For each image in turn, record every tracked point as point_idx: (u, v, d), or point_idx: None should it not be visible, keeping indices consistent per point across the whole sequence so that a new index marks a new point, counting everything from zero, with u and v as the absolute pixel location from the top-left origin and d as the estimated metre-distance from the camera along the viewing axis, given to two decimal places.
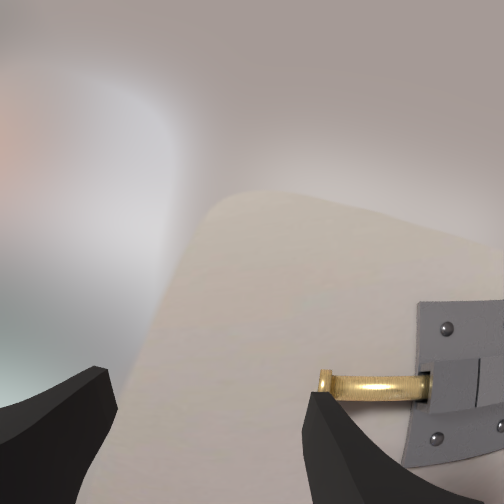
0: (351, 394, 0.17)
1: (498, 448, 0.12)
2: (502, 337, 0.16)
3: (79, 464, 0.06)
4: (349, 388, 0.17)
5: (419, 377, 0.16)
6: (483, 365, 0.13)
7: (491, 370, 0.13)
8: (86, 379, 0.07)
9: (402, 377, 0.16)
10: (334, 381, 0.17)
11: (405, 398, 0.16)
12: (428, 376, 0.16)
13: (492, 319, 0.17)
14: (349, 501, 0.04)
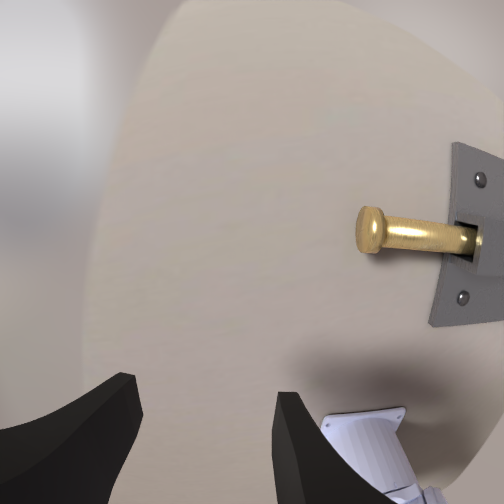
0: (403, 241, 0.14)
1: None
2: None
3: (108, 475, 0.06)
4: (402, 234, 0.14)
5: (463, 229, 0.14)
6: None
7: None
8: (115, 387, 0.07)
9: (449, 226, 0.15)
10: (386, 224, 0.14)
11: (451, 251, 0.15)
12: (470, 229, 0.14)
13: None
14: None
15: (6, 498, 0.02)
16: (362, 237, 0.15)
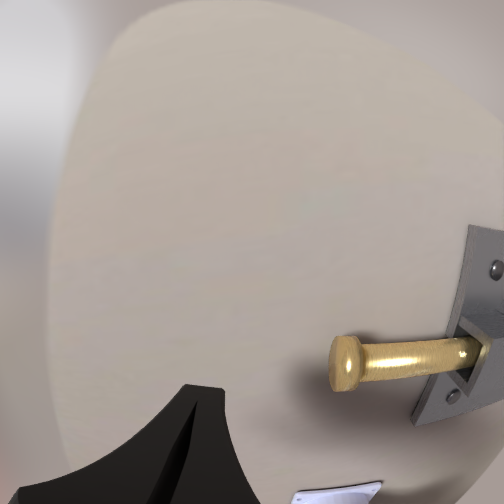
0: (385, 377, 0.11)
1: (498, 400, 0.14)
2: None
3: None
4: (384, 371, 0.11)
5: (465, 345, 0.11)
6: None
7: None
8: (189, 401, 0.07)
9: (447, 345, 0.11)
10: (365, 363, 0.11)
11: (444, 371, 0.11)
12: (473, 342, 0.11)
13: None
14: None
15: None
16: (334, 372, 0.12)
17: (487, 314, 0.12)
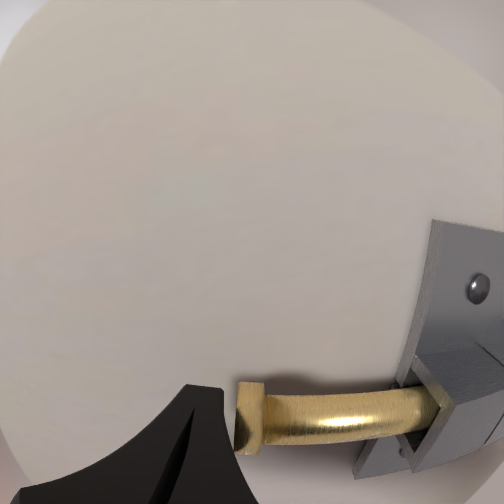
0: (307, 443, 0.07)
1: None
2: None
3: None
4: (303, 437, 0.07)
5: None
6: None
7: None
8: (190, 401, 0.07)
9: (411, 401, 0.08)
10: (271, 426, 0.07)
11: (406, 431, 0.08)
12: None
13: None
14: None
15: None
16: None
17: (461, 352, 0.09)
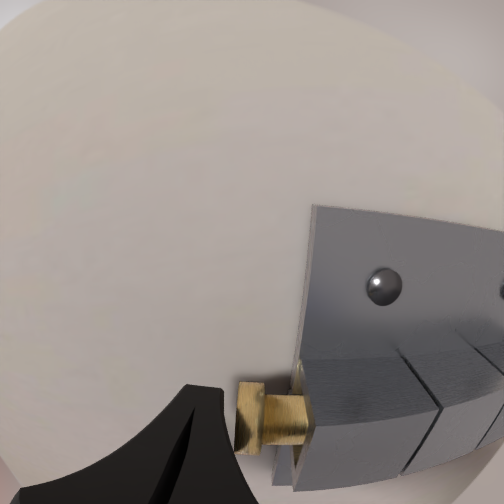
0: None
1: None
2: (493, 310, 0.09)
3: None
4: (303, 437, 0.07)
5: None
6: (443, 418, 0.06)
7: (455, 424, 0.06)
8: (190, 402, 0.07)
9: None
10: (271, 426, 0.07)
11: None
12: None
13: (487, 273, 0.08)
14: None
15: None
16: None
17: (367, 361, 0.09)
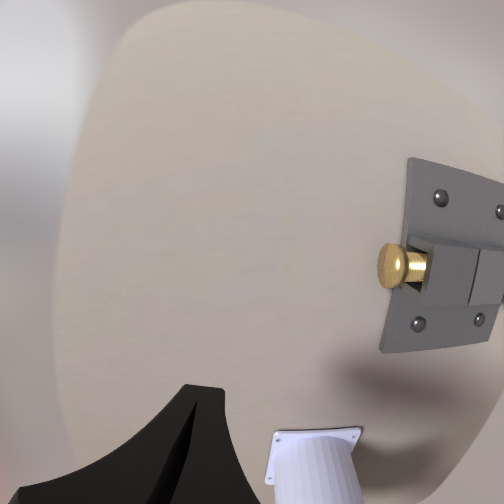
0: (422, 276, 0.15)
1: (472, 342, 0.18)
2: (493, 223, 0.16)
3: None
4: (421, 270, 0.15)
5: None
6: (481, 259, 0.13)
7: (488, 266, 0.13)
8: (189, 402, 0.07)
9: None
10: (408, 261, 0.15)
11: None
12: None
13: (487, 200, 0.15)
14: None
15: None
16: (385, 273, 0.16)
17: (437, 238, 0.16)
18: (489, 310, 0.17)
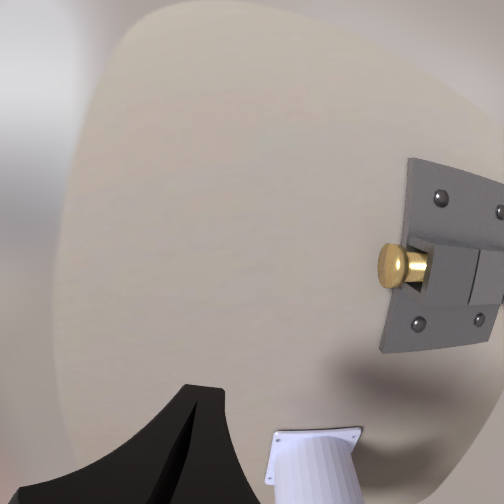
0: (422, 277, 0.15)
1: (472, 342, 0.18)
2: (493, 224, 0.16)
3: None
4: (421, 270, 0.15)
5: None
6: (481, 259, 0.13)
7: (488, 266, 0.13)
8: (189, 401, 0.07)
9: None
10: (408, 261, 0.15)
11: None
12: None
13: (487, 200, 0.16)
14: None
15: None
16: (385, 273, 0.16)
17: (437, 238, 0.16)
18: (489, 310, 0.17)
